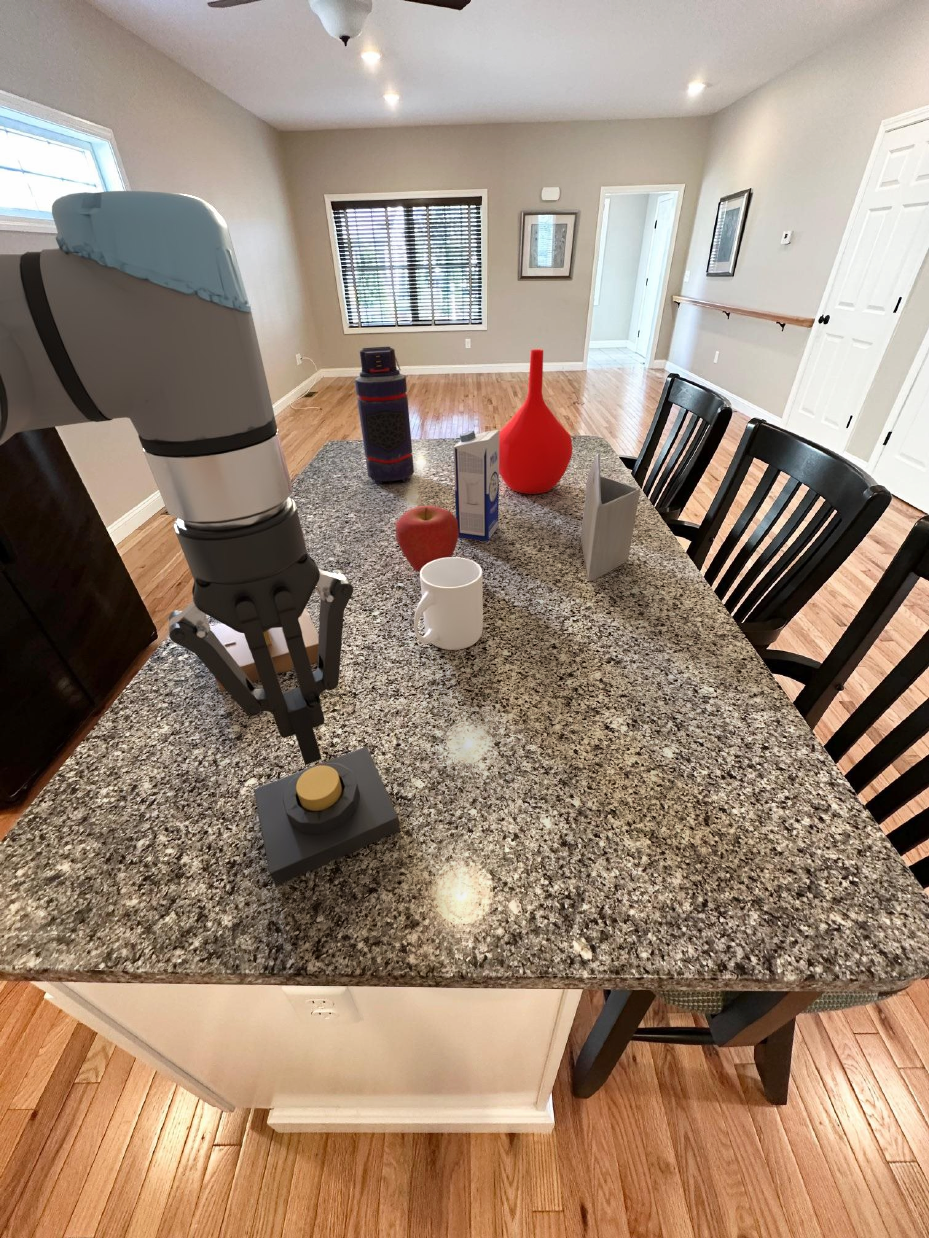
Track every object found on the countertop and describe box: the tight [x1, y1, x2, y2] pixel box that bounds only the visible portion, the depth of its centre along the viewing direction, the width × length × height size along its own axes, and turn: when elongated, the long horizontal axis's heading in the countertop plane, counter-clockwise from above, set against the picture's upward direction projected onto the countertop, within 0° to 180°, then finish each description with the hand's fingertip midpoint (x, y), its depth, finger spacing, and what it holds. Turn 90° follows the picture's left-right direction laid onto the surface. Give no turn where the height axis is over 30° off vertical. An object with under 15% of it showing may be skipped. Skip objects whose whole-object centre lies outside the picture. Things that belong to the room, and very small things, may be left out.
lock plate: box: [210, 606, 319, 692], centre depth 74 cm, size 14×12×3 cm
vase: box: [499, 348, 573, 495], centre depth 117 cm, size 18×18×30 cm
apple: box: [394, 505, 459, 573], centre depth 89 cm, size 11×11×12 cm
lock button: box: [296, 766, 342, 811], centre depth 49 cm, size 4×4×2 cm
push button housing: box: [253, 746, 401, 887], centre depth 51 cm, size 12×10×4 cm
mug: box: [413, 556, 484, 651], centre depth 72 cm, size 9×12×11 cm
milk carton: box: [452, 429, 500, 542], centre depth 99 cm, size 7×7×20 cm
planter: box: [579, 452, 641, 582], centre depth 89 cm, size 16×8×19 cm, turn 174°
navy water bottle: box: [354, 346, 415, 485], centre depth 126 cm, size 14×12×30 cm
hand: (310, 751), depth 46 cm, fingers closed
